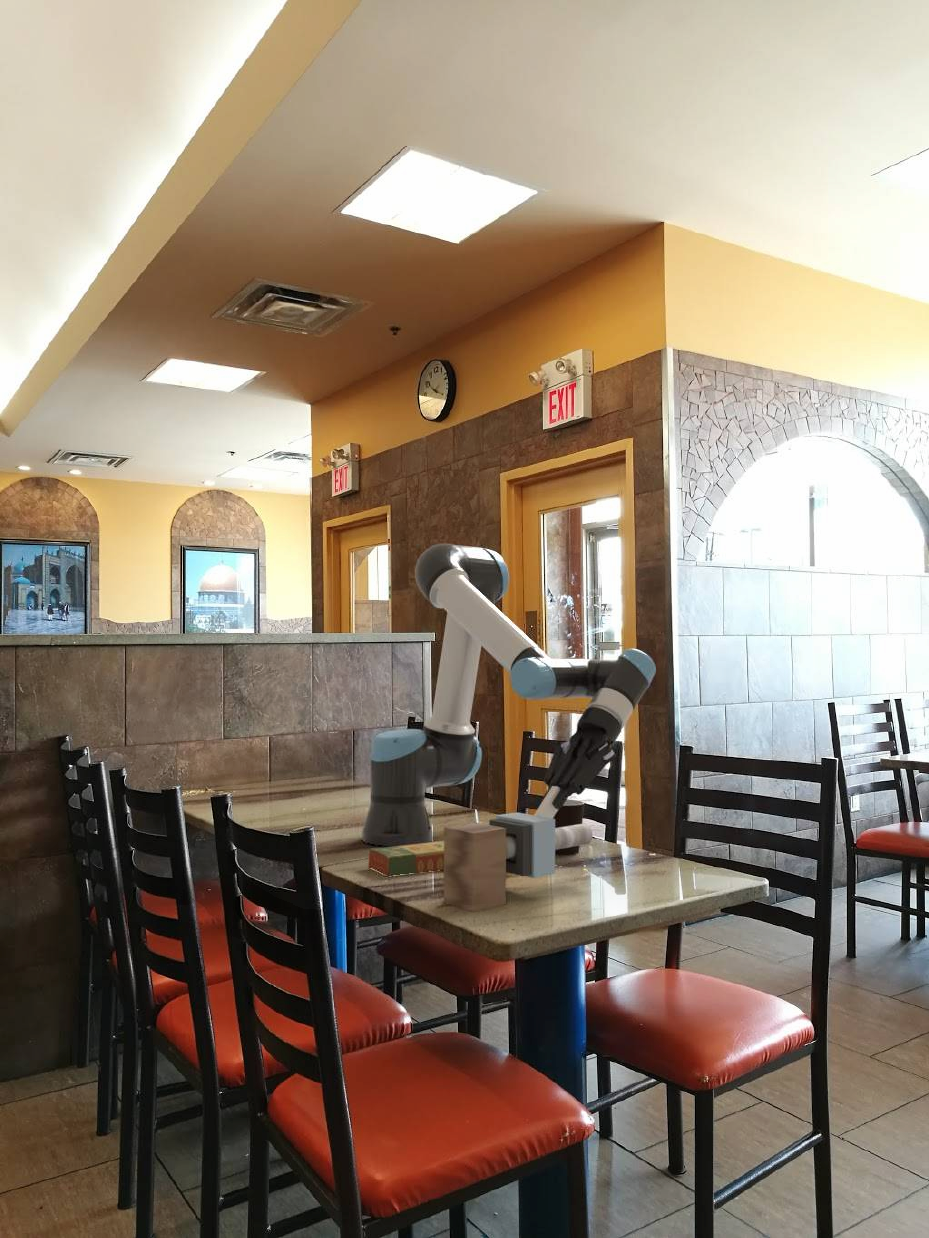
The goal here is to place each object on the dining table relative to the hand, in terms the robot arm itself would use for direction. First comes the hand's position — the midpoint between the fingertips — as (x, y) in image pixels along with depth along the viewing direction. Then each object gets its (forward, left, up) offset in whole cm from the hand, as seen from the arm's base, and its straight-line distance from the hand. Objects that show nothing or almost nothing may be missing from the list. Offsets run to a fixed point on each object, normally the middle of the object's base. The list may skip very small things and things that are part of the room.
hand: (540, 820), depth 162 cm
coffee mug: (-20, +28, -12) cm, 36 cm away
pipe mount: (0, -4, -12) cm, 12 cm away
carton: (-26, -6, -12) cm, 29 cm away
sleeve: (0, -4, -8) cm, 9 cm away
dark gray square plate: (0, -7, -8) cm, 10 cm away
